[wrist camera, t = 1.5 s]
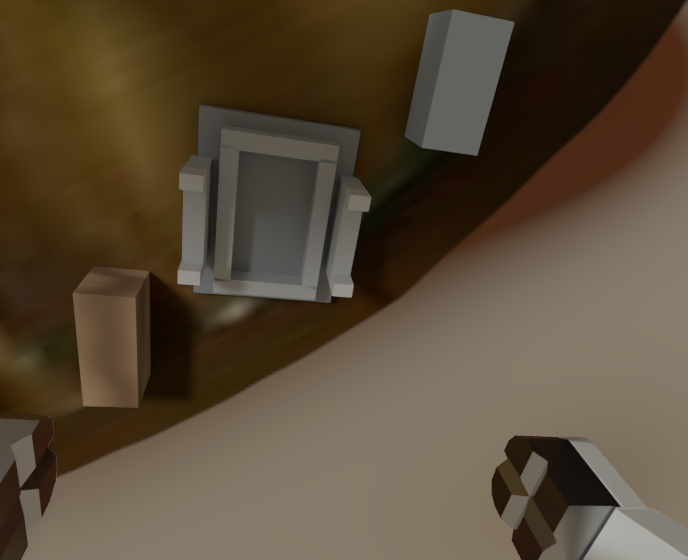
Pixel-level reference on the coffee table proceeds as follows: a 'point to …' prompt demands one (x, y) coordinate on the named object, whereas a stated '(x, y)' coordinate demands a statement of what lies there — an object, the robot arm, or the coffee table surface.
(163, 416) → the coffee table surface
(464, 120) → the pale grey upright block
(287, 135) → the jig
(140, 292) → the tan cardboard carton
